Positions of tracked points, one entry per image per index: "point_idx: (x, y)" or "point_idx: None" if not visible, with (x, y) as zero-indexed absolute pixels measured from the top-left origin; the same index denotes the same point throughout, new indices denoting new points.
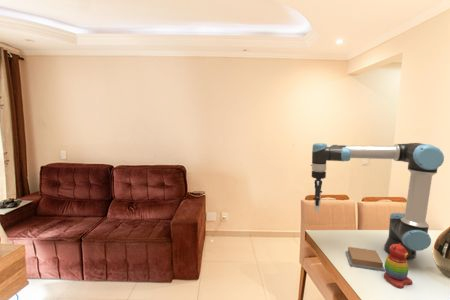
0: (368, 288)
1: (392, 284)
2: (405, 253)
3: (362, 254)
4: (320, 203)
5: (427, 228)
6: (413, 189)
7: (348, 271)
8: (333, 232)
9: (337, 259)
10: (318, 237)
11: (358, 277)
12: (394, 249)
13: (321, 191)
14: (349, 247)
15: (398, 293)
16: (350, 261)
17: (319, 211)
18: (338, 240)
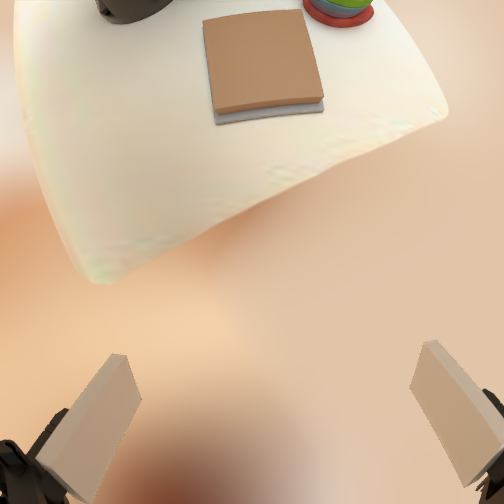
0: (417, 84)
1: (367, 20)
2: None
3: (264, 58)
4: (120, 358)
5: None
6: None
7: (360, 121)
8: (62, 193)
9: (290, 155)
10: (127, 245)
11: (379, 97)
12: None
13: (6, 458)
14: (219, 104)
15: (395, 23)
16: (302, 107)
17: (437, 341)
18: (116, 164)
